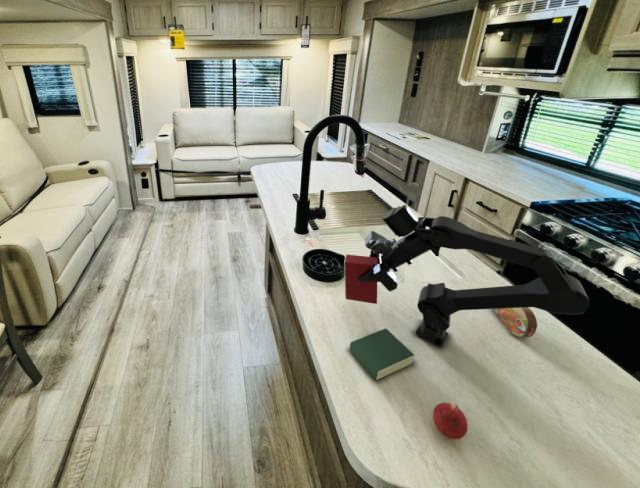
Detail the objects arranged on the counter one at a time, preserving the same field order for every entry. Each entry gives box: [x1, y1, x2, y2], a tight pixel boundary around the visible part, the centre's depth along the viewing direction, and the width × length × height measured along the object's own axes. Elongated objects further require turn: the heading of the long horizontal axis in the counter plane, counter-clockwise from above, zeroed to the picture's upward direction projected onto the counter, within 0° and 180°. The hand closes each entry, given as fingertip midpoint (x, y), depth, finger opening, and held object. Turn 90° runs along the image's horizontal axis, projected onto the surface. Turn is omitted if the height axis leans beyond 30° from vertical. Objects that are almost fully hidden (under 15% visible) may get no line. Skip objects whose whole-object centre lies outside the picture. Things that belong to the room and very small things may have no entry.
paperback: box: [343, 254, 378, 305], centre depth 90 cm, size 9×4×13 cm, turn 66°
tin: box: [491, 307, 538, 338], centre depth 88 cm, size 15×3×8 cm, turn 171°
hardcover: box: [349, 327, 415, 381], centre depth 79 cm, size 12×9×3 cm
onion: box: [432, 402, 469, 440], centre depth 62 cm, size 6×6×8 cm
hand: (358, 275), depth 90 cm, fingers closed on paperback, 4 cm apart
